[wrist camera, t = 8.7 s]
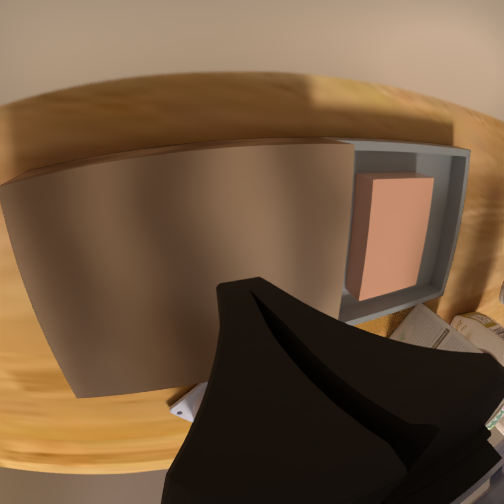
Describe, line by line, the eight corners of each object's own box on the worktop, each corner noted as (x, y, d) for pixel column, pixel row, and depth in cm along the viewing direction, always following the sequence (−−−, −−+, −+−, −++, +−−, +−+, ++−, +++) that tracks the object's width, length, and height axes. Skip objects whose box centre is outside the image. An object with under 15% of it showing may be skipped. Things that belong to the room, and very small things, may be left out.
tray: (453, 146, 22) (470, 150, 21) (430, 285, 28) (443, 295, 27) (318, 137, 19) (335, 140, 17) (309, 319, 25) (320, 334, 23)
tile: (373, 179, 18) (355, 173, 20) (358, 301, 22) (345, 288, 24) (434, 177, 20) (416, 172, 22) (415, 284, 24) (401, 274, 26)
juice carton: (480, 304, 35) (574, 381, 18) (455, 354, 38) (535, 433, 21) (453, 309, 32) (560, 403, 16) (425, 364, 35) (513, 458, 19)
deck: (318, 137, 19) (354, 144, 15) (309, 319, 25) (332, 351, 21) (26, 171, 14) (-3, 186, 11) (82, 359, 20) (77, 398, 17)
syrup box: (382, 342, 30) (471, 441, 17) (419, 297, 29) (520, 385, 16) (404, 355, 32) (482, 439, 20) (437, 316, 31) (523, 392, 19)
